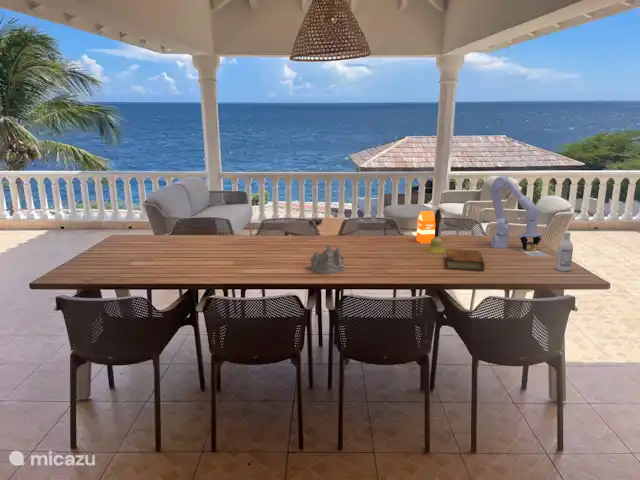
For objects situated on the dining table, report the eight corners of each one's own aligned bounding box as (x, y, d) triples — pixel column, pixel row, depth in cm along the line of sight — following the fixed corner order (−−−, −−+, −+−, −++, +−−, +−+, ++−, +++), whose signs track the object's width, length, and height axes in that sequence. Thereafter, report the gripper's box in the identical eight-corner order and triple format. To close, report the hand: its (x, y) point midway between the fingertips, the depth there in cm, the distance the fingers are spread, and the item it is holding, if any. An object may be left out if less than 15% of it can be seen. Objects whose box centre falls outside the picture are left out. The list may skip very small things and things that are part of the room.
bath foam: (573, 270, 262) (578, 233, 257) (562, 271, 260) (566, 234, 255) (563, 267, 268) (567, 230, 263) (552, 268, 266) (557, 231, 261)
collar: (527, 251, 295) (527, 245, 294) (522, 249, 300) (522, 242, 299) (536, 251, 296) (536, 244, 295) (531, 248, 301) (531, 242, 300)
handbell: (450, 252, 297) (453, 210, 291) (434, 254, 291) (436, 212, 285) (437, 247, 307) (439, 207, 302) (421, 249, 302) (423, 208, 296)
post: (528, 252, 297) (529, 242, 296) (526, 251, 299) (527, 241, 298) (531, 252, 297) (533, 242, 296) (529, 251, 300) (530, 241, 298)
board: (532, 258, 285) (533, 256, 284) (518, 250, 301) (518, 248, 301) (549, 257, 286) (549, 255, 285) (533, 250, 302) (534, 248, 302)
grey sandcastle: (349, 270, 262) (347, 241, 259) (323, 276, 253) (321, 247, 250) (332, 264, 275) (330, 237, 272) (307, 270, 266) (305, 243, 263)
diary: (483, 272, 260) (484, 262, 259) (446, 270, 264) (447, 259, 263) (479, 260, 282) (480, 250, 281) (445, 258, 286) (446, 248, 285)
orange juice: (416, 240, 324) (417, 210, 320) (428, 240, 326) (430, 209, 322) (421, 243, 317) (423, 212, 312) (434, 242, 319) (436, 211, 314)
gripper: (523, 228, 290) (521, 251, 293) (547, 228, 292) (544, 250, 295) (517, 226, 297) (515, 248, 300) (540, 225, 298) (538, 247, 302)
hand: (529, 249), depth 298 cm, fingers closed on collar, 6 cm apart
